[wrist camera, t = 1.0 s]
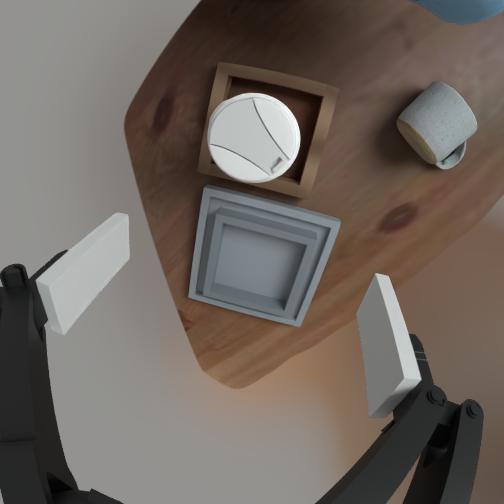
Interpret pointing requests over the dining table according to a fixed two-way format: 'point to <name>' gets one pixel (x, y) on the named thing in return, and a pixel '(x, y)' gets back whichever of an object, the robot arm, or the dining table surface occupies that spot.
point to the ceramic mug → (438, 125)
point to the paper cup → (253, 137)
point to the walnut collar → (283, 80)
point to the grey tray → (259, 254)
